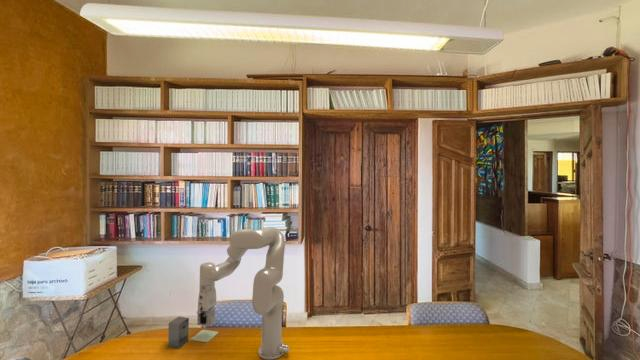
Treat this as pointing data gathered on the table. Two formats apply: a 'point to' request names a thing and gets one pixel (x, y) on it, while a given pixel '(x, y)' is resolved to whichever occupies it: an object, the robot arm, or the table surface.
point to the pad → (204, 336)
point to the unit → (178, 332)
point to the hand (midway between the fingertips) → (206, 320)
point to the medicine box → (208, 317)
